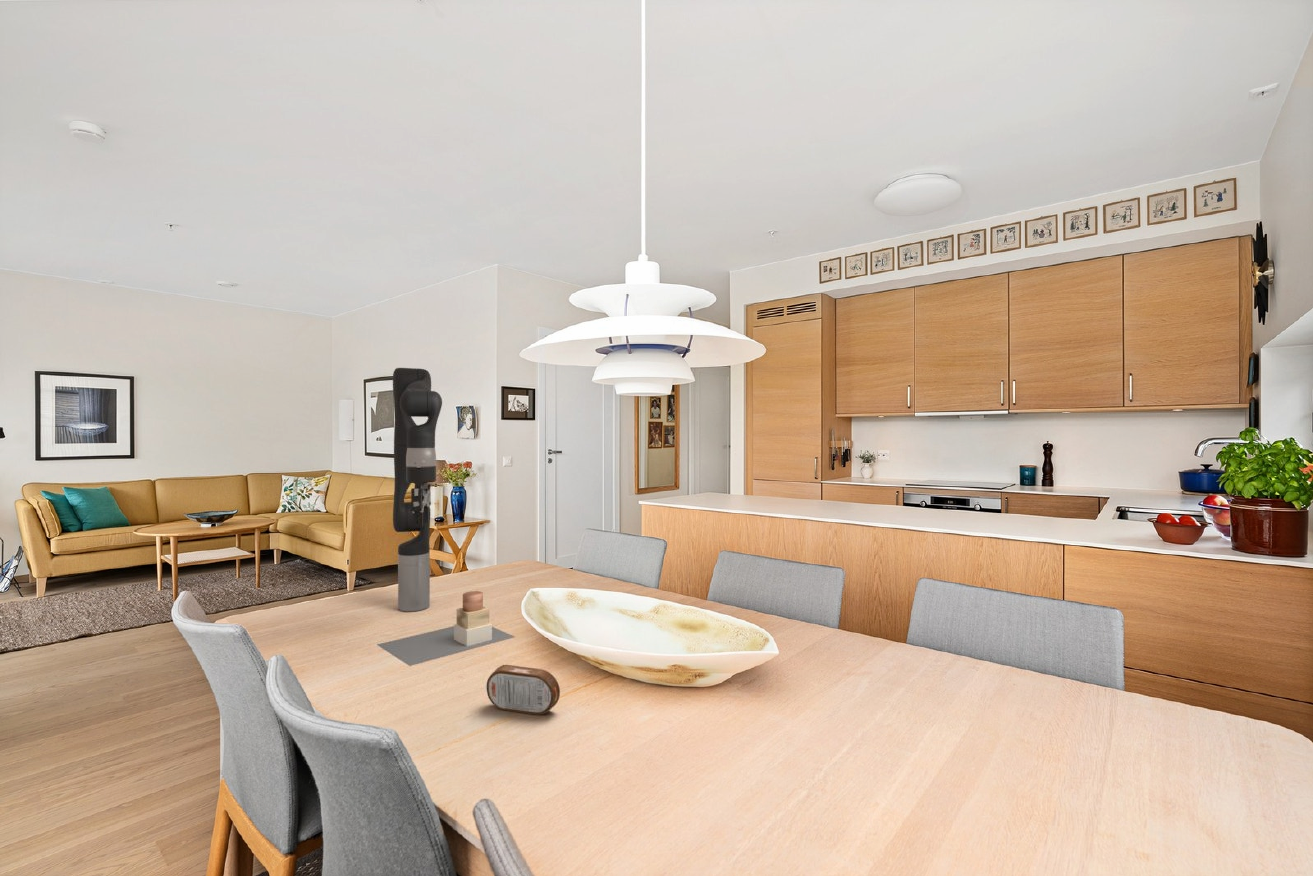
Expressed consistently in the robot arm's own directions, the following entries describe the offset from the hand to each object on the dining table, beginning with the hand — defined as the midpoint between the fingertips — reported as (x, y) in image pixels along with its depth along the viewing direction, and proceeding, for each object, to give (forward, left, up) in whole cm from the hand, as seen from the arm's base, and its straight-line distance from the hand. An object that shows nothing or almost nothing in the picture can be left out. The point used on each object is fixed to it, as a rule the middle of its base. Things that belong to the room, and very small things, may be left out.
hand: (421, 524), depth 162 cm
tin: (+57, -5, -30) cm, 65 cm away
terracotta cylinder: (+15, +7, -21) cm, 27 cm away
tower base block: (+15, +7, -29) cm, 33 cm away
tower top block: (+15, +7, -25) cm, 30 cm away
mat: (+11, +2, -30) cm, 32 cm away
